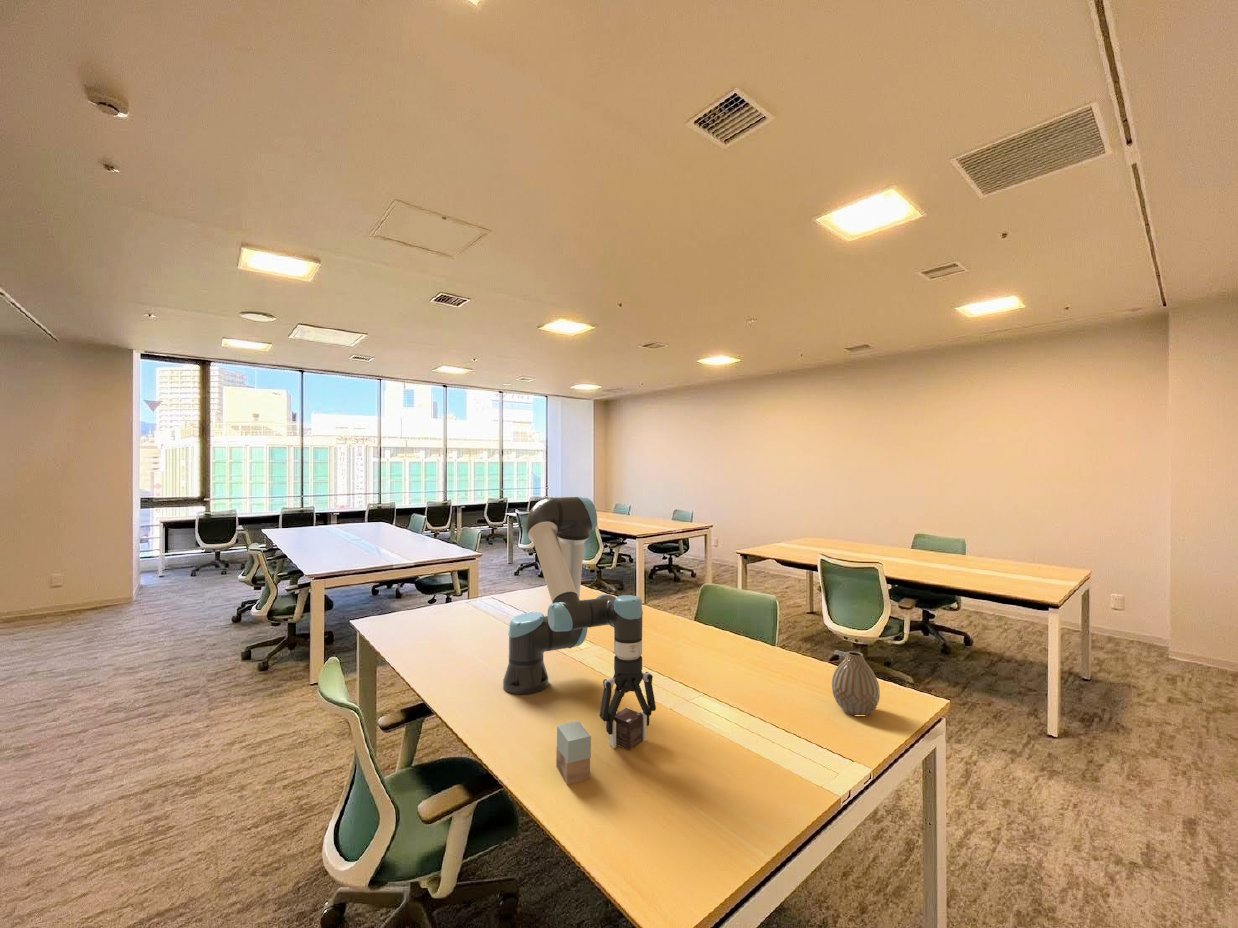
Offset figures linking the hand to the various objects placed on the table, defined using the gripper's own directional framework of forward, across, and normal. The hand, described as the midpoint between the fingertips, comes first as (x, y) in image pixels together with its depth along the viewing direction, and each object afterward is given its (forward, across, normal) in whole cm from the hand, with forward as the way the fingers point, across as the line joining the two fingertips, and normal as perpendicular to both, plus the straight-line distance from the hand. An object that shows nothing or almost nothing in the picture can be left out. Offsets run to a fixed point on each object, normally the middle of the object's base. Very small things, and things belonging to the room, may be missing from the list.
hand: (628, 741), depth 132 cm
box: (0, 0, 0) cm, 1 cm away
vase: (+1, +71, -12) cm, 72 cm away
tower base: (0, -18, -7) cm, 19 cm away
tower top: (-4, -18, -7) cm, 20 cm away
